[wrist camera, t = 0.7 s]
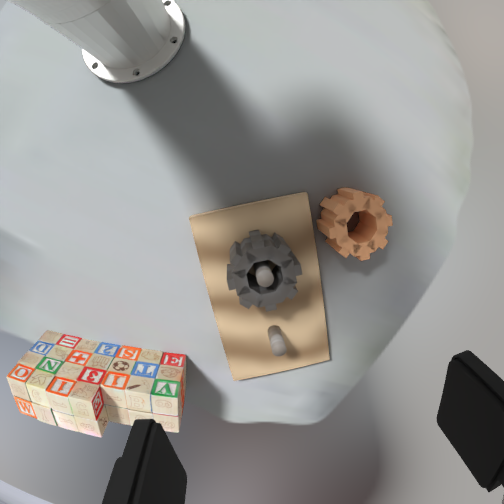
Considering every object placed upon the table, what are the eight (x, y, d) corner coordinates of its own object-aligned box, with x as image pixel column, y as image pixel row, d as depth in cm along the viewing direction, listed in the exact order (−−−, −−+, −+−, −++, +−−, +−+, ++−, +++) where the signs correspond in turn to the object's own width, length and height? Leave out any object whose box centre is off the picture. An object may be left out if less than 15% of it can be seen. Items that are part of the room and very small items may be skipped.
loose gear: (311, 193, 36) (324, 198, 31) (369, 183, 36) (388, 186, 31) (321, 254, 38) (334, 267, 33) (376, 241, 38) (394, 252, 33)
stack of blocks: (187, 352, 40) (175, 417, 29) (186, 388, 42) (177, 452, 30) (46, 329, 38) (4, 376, 26) (53, 364, 40) (18, 413, 28)
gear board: (190, 215, 35) (181, 228, 29) (304, 191, 36) (321, 198, 29) (233, 374, 42) (235, 408, 35) (326, 353, 42) (341, 384, 35)
